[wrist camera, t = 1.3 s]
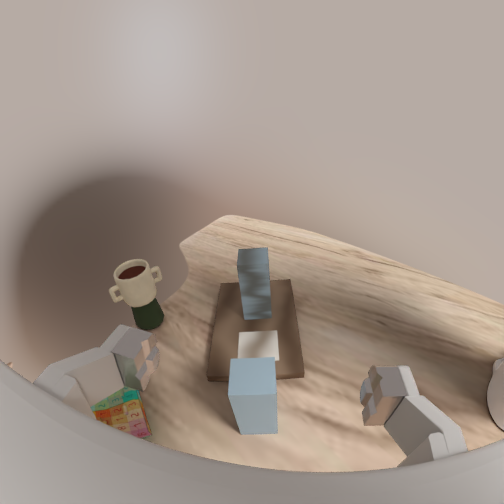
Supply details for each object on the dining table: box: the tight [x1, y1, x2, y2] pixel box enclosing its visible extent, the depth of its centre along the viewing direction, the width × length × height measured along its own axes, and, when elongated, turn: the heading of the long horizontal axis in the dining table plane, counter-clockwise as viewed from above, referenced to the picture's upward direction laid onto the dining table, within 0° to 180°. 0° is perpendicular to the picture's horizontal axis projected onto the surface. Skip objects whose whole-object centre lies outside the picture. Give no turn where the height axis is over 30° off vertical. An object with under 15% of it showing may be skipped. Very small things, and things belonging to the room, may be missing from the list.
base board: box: [207, 247, 304, 381], centre depth 47 cm, size 15×24×14 cm, turn 179°
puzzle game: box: [90, 386, 152, 438], centre depth 31 cm, size 12×5×20 cm
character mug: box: [109, 259, 164, 330], centre depth 50 cm, size 11×7×13 cm, turn 131°
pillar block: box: [228, 357, 278, 434], centre depth 31 cm, size 5×5×12 cm
